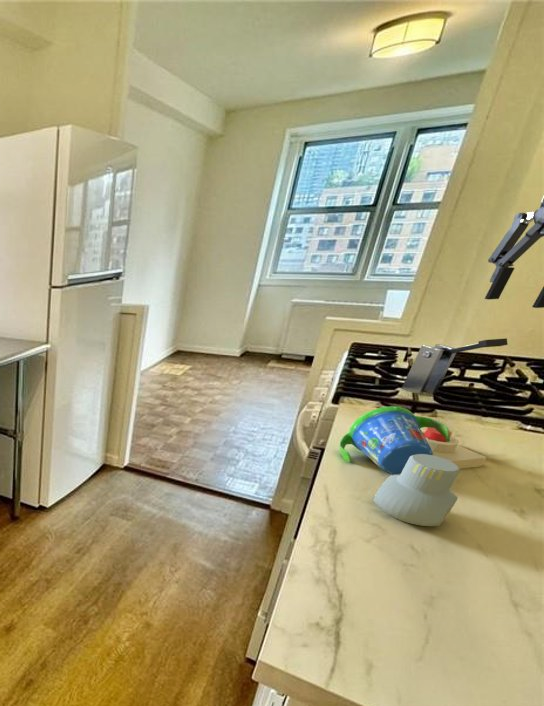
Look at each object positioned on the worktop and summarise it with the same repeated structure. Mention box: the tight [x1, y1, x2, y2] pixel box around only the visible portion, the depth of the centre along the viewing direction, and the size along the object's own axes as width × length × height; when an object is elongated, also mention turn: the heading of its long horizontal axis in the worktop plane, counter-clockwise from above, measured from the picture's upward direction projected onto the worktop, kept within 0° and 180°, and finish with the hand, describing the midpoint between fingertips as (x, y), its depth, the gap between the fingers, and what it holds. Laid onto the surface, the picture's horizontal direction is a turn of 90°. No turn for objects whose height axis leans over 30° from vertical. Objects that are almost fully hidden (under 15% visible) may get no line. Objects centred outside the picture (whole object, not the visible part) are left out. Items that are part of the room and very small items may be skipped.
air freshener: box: [373, 454, 461, 527], centre depth 77 cm, size 11×8×10 cm
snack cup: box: [339, 406, 450, 475], centre depth 91 cm, size 16×10×10 cm
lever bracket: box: [401, 343, 457, 396], centre depth 120 cm, size 12×9×13 cm
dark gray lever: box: [438, 338, 508, 359], centre depth 113 cm, size 13×6×2 cm, turn 9°
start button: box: [424, 427, 453, 442], centre depth 95 cm, size 4×4×2 cm
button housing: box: [421, 429, 487, 470], centre depth 96 cm, size 12×10×4 cm
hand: (514, 302), depth 103 cm, fingers open, 8 cm apart
